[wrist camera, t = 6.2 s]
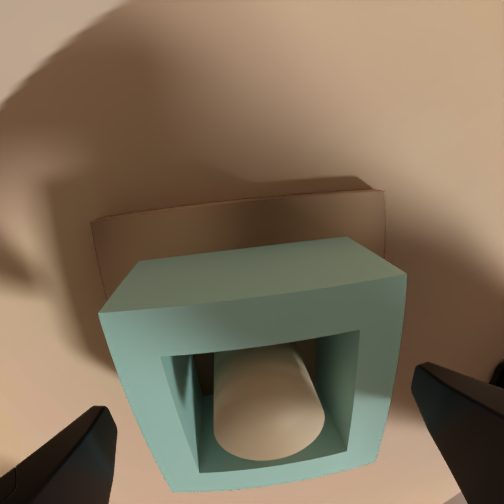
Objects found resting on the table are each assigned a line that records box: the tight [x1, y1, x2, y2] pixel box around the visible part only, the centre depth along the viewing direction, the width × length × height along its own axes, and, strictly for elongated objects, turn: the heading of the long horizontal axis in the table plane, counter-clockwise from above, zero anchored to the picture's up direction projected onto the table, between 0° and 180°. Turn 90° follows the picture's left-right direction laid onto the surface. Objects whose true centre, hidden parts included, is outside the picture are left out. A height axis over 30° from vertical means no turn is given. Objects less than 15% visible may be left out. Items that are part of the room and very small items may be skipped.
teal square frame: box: [98, 236, 407, 492], centre depth 9 cm, size 7×7×4 cm
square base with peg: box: [90, 189, 385, 461], centre depth 10 cm, size 10×10×5 cm
